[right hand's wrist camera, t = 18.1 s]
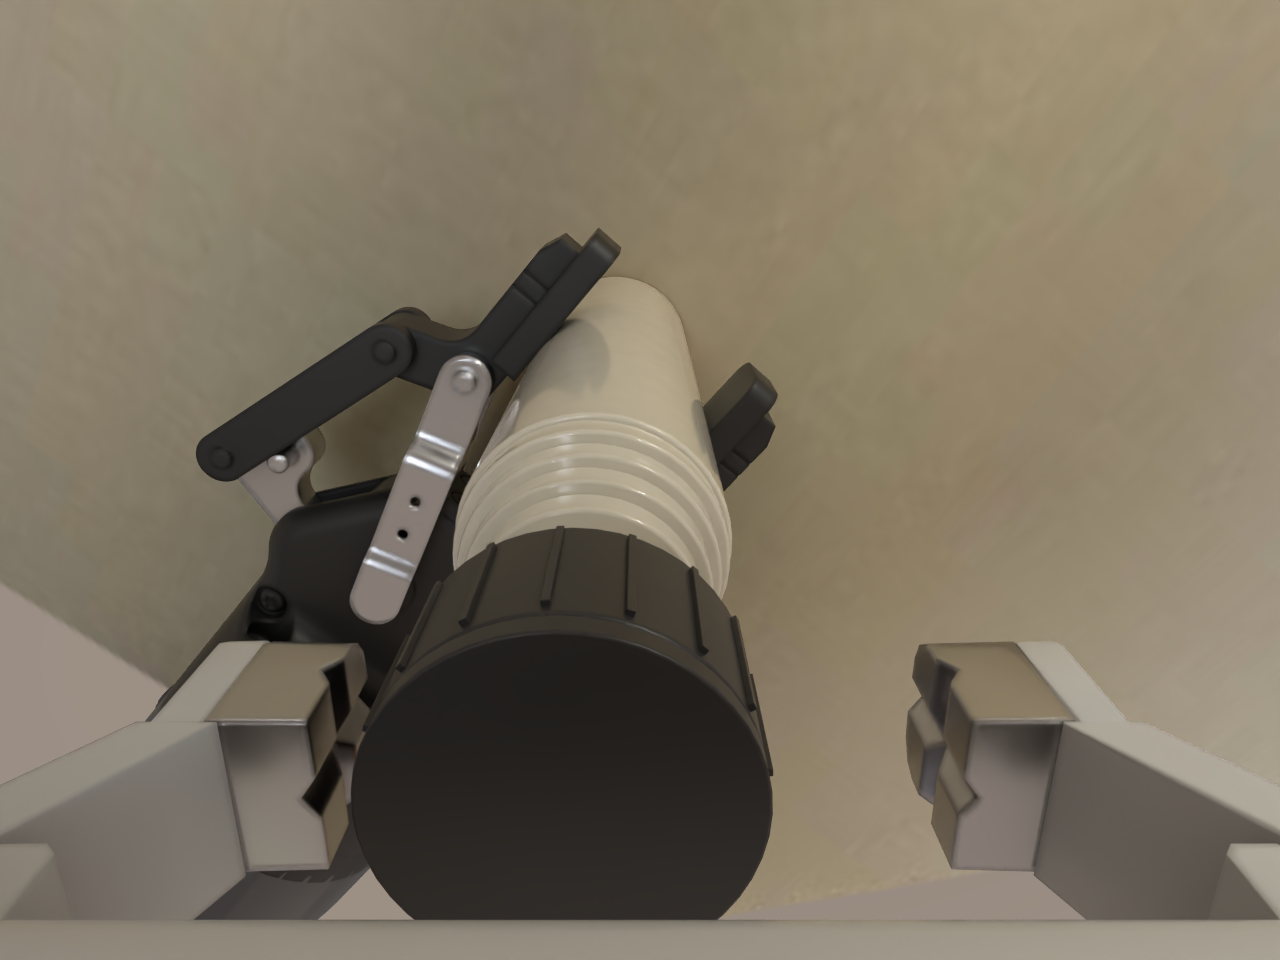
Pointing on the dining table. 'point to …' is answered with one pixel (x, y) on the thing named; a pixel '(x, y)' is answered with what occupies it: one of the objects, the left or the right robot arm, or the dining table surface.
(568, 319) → the bottle
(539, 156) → the dining table surface
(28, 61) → the dining table surface
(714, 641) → the cap
